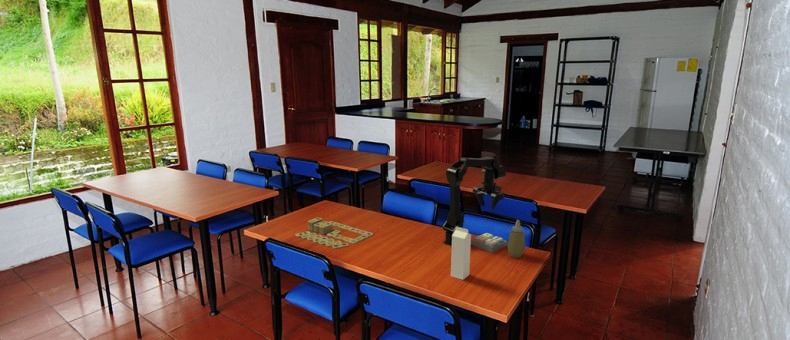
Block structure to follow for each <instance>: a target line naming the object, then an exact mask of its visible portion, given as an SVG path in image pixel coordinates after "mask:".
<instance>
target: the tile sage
mask: <svg viewBox="0 0 790 340" xmlns="http://www.w3.org/2000/svg"><path fill="white" fill-rule="evenodd" d="M481 235H482V236H484V237H486V238H487V240H488V239H491V238H493V236H494V234H491V233H488V232H485V233H482V234H481Z"/></svg>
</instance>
